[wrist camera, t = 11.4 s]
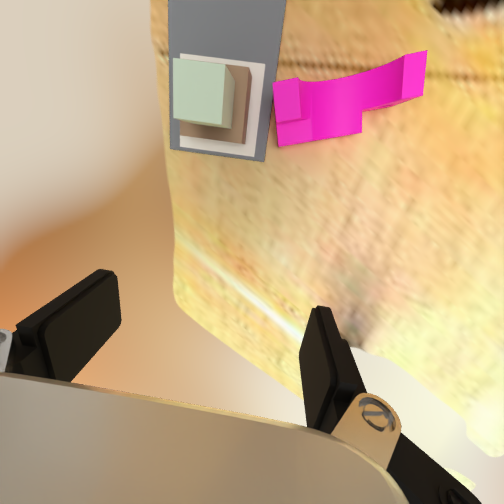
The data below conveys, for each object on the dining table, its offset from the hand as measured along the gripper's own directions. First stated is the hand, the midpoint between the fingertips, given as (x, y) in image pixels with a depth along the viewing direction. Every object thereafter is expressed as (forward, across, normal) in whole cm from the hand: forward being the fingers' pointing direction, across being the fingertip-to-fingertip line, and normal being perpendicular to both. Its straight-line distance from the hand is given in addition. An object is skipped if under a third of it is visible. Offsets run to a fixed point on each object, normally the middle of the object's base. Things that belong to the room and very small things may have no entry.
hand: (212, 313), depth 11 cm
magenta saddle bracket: (+29, -8, -13) cm, 33 cm away
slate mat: (+28, +7, -17) cm, 34 cm away
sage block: (+24, +7, -12) cm, 27 cm away
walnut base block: (+28, +7, -12) cm, 31 cm away
